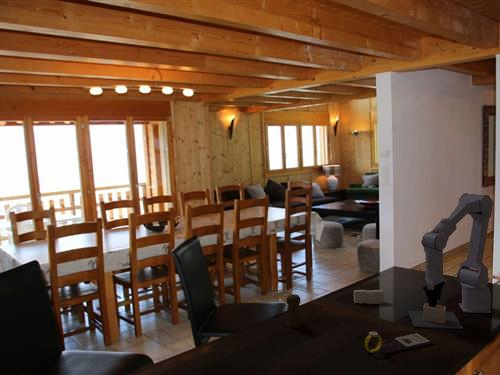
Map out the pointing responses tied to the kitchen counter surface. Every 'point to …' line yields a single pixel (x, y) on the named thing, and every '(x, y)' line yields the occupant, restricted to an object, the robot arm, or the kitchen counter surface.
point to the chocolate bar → (401, 343)
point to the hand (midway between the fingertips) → (434, 302)
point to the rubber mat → (449, 323)
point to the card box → (434, 313)
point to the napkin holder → (369, 296)
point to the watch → (371, 334)
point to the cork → (293, 311)
